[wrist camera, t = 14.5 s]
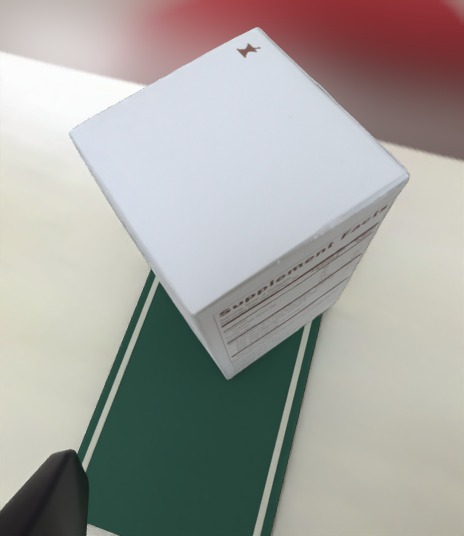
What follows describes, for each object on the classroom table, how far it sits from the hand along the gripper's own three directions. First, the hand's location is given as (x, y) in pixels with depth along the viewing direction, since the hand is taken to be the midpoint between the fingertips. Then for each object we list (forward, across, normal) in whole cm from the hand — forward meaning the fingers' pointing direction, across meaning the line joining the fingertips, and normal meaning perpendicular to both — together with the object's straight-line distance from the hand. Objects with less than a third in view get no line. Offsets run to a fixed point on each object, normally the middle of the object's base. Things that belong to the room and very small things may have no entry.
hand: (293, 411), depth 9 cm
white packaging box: (+15, 0, +4) cm, 15 cm away
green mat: (+13, +2, +6) cm, 15 cm away
